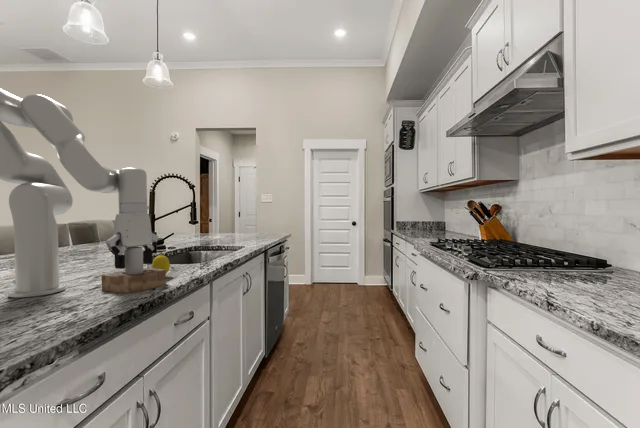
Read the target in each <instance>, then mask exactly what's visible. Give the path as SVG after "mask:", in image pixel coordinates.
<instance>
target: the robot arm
mask: <svg viewBox="0 0 640 428" xmlns="http://www.w3.org/2000/svg"><path fill="white" fill-rule="evenodd" d="M3 122H4V123H7V124H10V125H13V126H18V127H24V128H29V129H35V130H37V131H38V133H39V134H40V135H42V137H43V138H44V139H45V140H46V141H47V142H48V143H49V145H50V146H52V148H53V149H54V151H55V152H56V156H57V158H58V160H59V162H60V163H61V165H62V166H63V168H64V169H65V170H66V171H67V172H68V174H69V175H70V176H71V177H72V178H73V179H74V180H75V181H76V182H77V183H78V184H79V185H80V186H81V187H83V188H84V189H86V190H87V191H90V192H96V193H102V194H117V193H118V213H116V214H115V219H114V222H113V232H112V233H113V235H112V236H111V237H109V238H108V239H106V240H105V245H106V246H107V248H108V250H109V251H110V253H112V255H113V256H114V268H115V269H118V270H119V269H120V270H125V250H126V248H129V247H142V249H144V250H143V264H152V263H153V251H154V250H155V247H156V245H157V242H158V239H159V236H158V234H156V233H153V232H152V223H151V218H150V213H148V210H149V209H150V206H149V205H148V187H147V186H148V184H147V182H148V181H147V179H148V178H147V177H148V176H147V173H146V172H147V171H146V170H145V169H142V168H138V167H137V168H136V167H124V168H120V169H113V168H110V167H106V166H102V165H101V163H99V162H98V161H97V159H95V158H94V156H93V155H92V154H91V153H90V151H88V149H87V148H86V146H85V144H84V142H85V141H86V135H85V134H84V133H83V132H82V130H80V129H79V127H78V126H77V125H76V124H75V122H74V118H73V115H72V113H71V111H70V110H69V109H68V108H67V107H66V106H65V105H63V104H61V103H60V102H58V101H56V100H54V99H52V98H50V97H48V96H45V95H42V94H29V95H26V96H25V97H23V98H21V97H19V96H16V95H14V94H12V93H10V92H8V91H6V90H4V89H2V88H0V180H2V181H4V182H6V183H11V184H18V185H16V186H15V187H14V188H13V189H12V190H11V191H10V192H9V193H10V194H9V197H8V205H9V209H10V214H11V218H12V221H13V222H12V223H13V239H14V264H15V265H14V269H15V270H14V271H15V279H14V280H12V284H13V285H15V289H12V290H9V291H8V292H7V296H8V297H10V298H15V299H18V298H19V299H20V298H31V297H41V296H46V295H52V294H55V293H60V292H62V291H65V290H66V289H67V285H66V284H65V283H60V263H59V262H60V258H59V257H60V253H59V249H60V248H59V229H58V223H57V220H56V218H55V216H59V215H60V216H61V215H63V214H66V213H67V212H68V211H70V209H71V208H72V206H73V203H74V202H73V195H72V193H71V191H70V190H69V188H68V187H67V184H65V182H64V181H63V179H62V178H61V176H60V174H59V173H58V171H57V170H56V169H55V167H54V165H52V163H50V162H49V161H48V160H47V159H46V158H45V157H42V156H40V155H37V154H34V153H31V152H28V151H27V150H25V149H24V148H23V147H22V145H21V144H20V142H19V141H18V140H17V138H16V135H14V134H13V133H12V131H11V130H10V129H9V128H8V127H7V126H6V125H5V124H4V123H3Z"/></svg>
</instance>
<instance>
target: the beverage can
mask: <svg viewBox="0 0 640 428" xmlns="http://www.w3.org/2000/svg"><path fill="white" fill-rule="evenodd" d="M143 249H144V248H143V247H142V246H138V247H129V248H126V250H125V251H124V255H125V268H124V270H125V274H127V275H128V274H139V273H143V268H144V263H143V251H144V250H143Z"/></svg>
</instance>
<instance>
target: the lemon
mask: <svg viewBox="0 0 640 428" xmlns="http://www.w3.org/2000/svg"><path fill="white" fill-rule="evenodd" d="M151 264H152V265H151V268H152V269H164V270H166V274H167V273H169V271H170V268H171V267H170V265H171V264H170V259H169V258H168V257H167V256H166V255H163V254H161V253H160V254H159V255H157V256H156V257H154V258H153V259H152V263H151Z"/></svg>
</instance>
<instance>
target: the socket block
mask: <svg viewBox="0 0 640 428" xmlns="http://www.w3.org/2000/svg"><path fill="white" fill-rule="evenodd" d="M166 276H167V273H166V270H164V269H152V267H148V268H147V267H146V268H145V267H143V273H139V274H128V275H127V274H125V269H122V270H117V271H114V272H113V271H112V272H110V273H105V274H101V291H105V292H111V293H120V294H121V293H124V294H126V293H128V294H134V293H139V292H142V291H147V290H150V289H154V288H157V287H159V286H163V285H166V284H167V277H166Z"/></svg>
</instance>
